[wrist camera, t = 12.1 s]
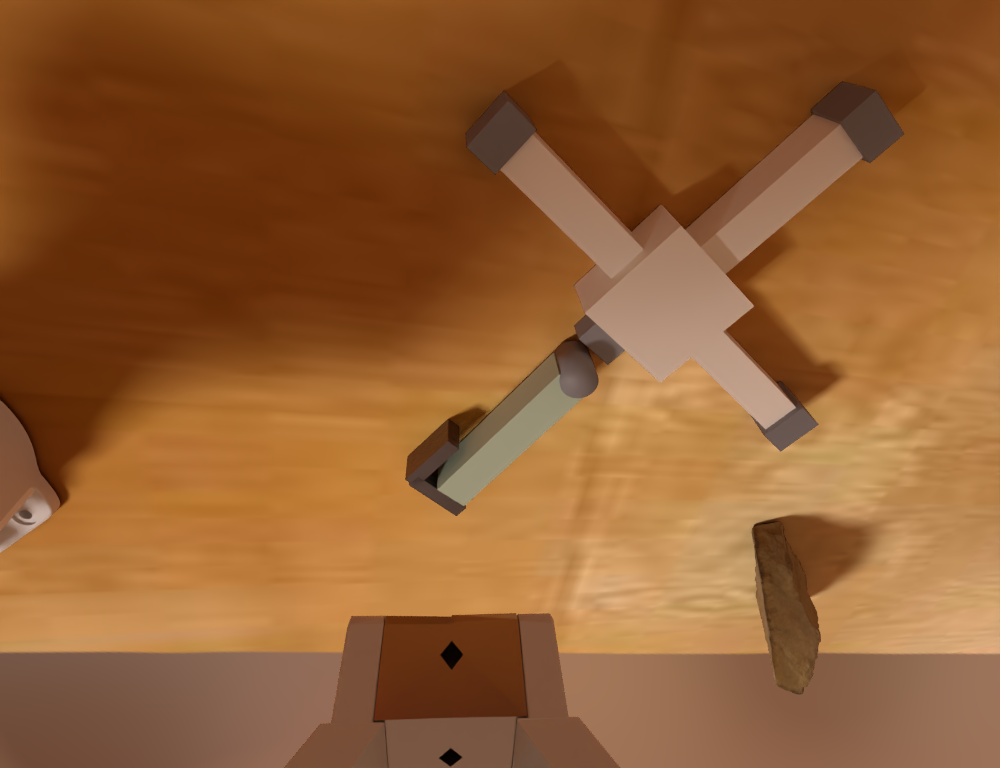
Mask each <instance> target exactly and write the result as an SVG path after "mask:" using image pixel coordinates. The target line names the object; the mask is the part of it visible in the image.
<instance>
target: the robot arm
mask: <svg viewBox="0 0 1000 768" xmlns="http://www.w3.org/2000/svg"><path fill="white" fill-rule="evenodd" d="M59 507H60V500H59V498H58V496H57V494H56V493H55V491H54V490H53V489H52V487H51V486H50V485H49V484H48V482H47V481H46V480H45V479H44V477H43V476H42V475H41V473H40V471H39V468H38V465H37V462H36V457H35V453H34V449H33V446H32V443H31V441H30V439H29V437H28V435H27V433H26V431H25V429H24V428H23V426H22V425H21V423H20V422H19V420H18V419H17V418H16V416H15V415H14V414H13V413H12V412H11V411H10V409H9V408H8V407H7V406H6V405H5V404H4V403H3V402H2V401H1V400H0V553H1V552H2V551H4V550H5V549H7V548H8V547H9V546H11V545H12V544H14V543H15V542H16V541H18V540H19V539H21V538H22V537H23V536H25V535H26V534H28V533H29V532H30V531H32V530H33V529H35V528H36V527H37V526H39V525H40V524H42V523H43V522H44V521H46V520H47V519H48V518H50V517H51V516H52V515H53V514H54V513H55V512H56V511H57V510H58V508H59ZM284 768H620V767H619V766H618V765H617V763H616V762H615V761H614V759H613V758H612V757H611V756H610V755H609V754H608V752H607V751H606V750H605V749H604V747H603V746H602V745H601V744H600V742H599V741H598V740H597V739H596V738H595V737H594V735H593V734H592V733H591V732H590V731H589V729H588V728H587V727H586V725H585V724H584V723H583V722H582V721H581V719H580V718H579V717H568V711H567V705H566V698H565V692H564V685H563V679H562V673H561V666H560V660H559V653H558V647H557V640H556V634H555V627H554V621H553V618H552V617H551V615H550V614H549V613H547V614H518V615H516V613H509V614H476V615H452V617H437V616H351V619H350V622H349V624H348V627H347V632H346V638H345V644H344V650H343V656H342V662H341V668H340V673H339V679H338V686H337V691H336V697H335V703H334V709H333V715H332V720H331V723H326V724H320V725H319V726H318V727H317V728H316V730H315V731H314V732H313V733H312V735H311V736H310V737H309V738H308V739H307V741H306V742H305V743H304V744H303V746H302V747H301V748H300V749H299V750H298V752H297V753H296V754H295V755H294V756H293V758H292V759H291V760H290V761H289V762H288V764H287V765H286V766H285V767H284Z"/></svg>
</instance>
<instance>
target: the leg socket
mask: <svg viewBox="0 0 1000 768" xmlns="http://www.w3.org/2000/svg"><path fill="white" fill-rule="evenodd" d="M458 450H459V426H457V425H456V424H455V423H453V422H452V421H450V420H449V419H448V420H447V421H446V422H444V423H443V424H442V425H441V426H440V427H439V428H438V429H437V430H436V431H435V432H434V433H432V434H431V435H430V436H429V437H428V438H427V439H426V440H425V441H424V442H423V443H422V444H421V445H419V446H418V447H417V448H416V449H415V450H414V451H413V452H412V453H411V454H410V455H409V456H408V458H407V468H406V478H405V480H406V481H408V482H409V485H410V486H411V487H413V488H414V489H416V490H417V491H419V492H420V493H422V494H423V495H425V496H426V497H428V498H429V499H431V500H433V501H434V502H436V503H437V504H439V505H440V506H442V507H443V508H445V509H446V510H448V511H449V512H451V513H452V514H454V515H455V516H457V515H458V514H460V513H461V512H462V511H463V510H464V509H465V508H466V505H465V506H463V505H461V504H460V503H458V502H456V501H455V500H453V499H451V498H450V497H448V496H447V495H445V494H443V493H442V492H440V491H438V490H437V481H438V468H439V467H440V466H441V465H442V464H443V463H444V462H445V461H446V460H448V459H449V458H450V457H451V456H452V455H453V454H454V453H455V452H457V451H458Z"/></svg>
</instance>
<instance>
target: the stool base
mask: <svg viewBox="0 0 1000 768" xmlns="http://www.w3.org/2000/svg"><path fill="white" fill-rule="evenodd" d="M811 112H812V113H813V115H812V116H811V117H809V118H808V119H807V120H806V121H805V122H804V123H803V124H802V125H801V126H799V127H798V128H797V129H796V130H795V131H794V132H793V133H792V134H791V135H789V136H788V137H787V138H786V139H785V140H784V141H783V142H782V143H781V144H780V145H778V146H777V147H776V148H775V149H774V150H773V151H772V152H771V153H770V154H768V155H767V156H766V157H765V158H764V159H763V160H762V161H761V162H760V163H758V164H757V165H756V166H755V167H754V168H753V169H752V170H751V171H750V172H748V173H747V174H746V175H745V176H744V177H743V178H742V179H741V180H740V181H738V182H737V183H736V184H735V185H734V186H733V187H732V188H731V189H730V190H728V191H727V192H726V193H725V194H724V195H723V196H722V197H721V198H720V199H719V200H717V201H716V202H715V203H714V204H713V205H712V206H711V207H710V208H709V209H707V210H706V211H705V212H704V213H703V214H702V215H701V216H700V217H699V218H697V219H696V220H695V221H694V222H693V223H692V224H691V225H690V226H689V227H687V228H686V229H684V228H683V227H682V226H681V225H680V224H679V223H678V222H677V221H676V219H675V218H674V217H673V216H672V215H671V214H670V213H669V212H668V211H667V210H666V209H665V208H664V206H663V205H662V204H661V205H660V206H658V207H657V208H656V209H655V210H654V211H653V212H652V213H651V214H650V215H649V216H648V217H647V218H646V219H645V220H643V221H642V222H641V223H640V224H639V225H638V226H637V227H636V228H635V229H634V230H633V231H632V232H631V231H630V230H629V229H628V228H627V227H626V226H625V225H624V224H623V223H622V222H621V221H620V220H619V218H618V217H617V216H616V215H615V214H614V213H613V212H612V211H611V210H610V209H609V208H608V207H607V206H606V205H605V204H604V203H603V202H602V201H601V200H600V199H599V198H598V197H597V196H596V195H595V193H594V192H593V191H592V190H591V189H590V188H589V187H588V186H587V185H586V184H585V183H584V182H583V181H582V180H581V179H580V178H579V177H578V176H577V175H576V174H575V173H574V172H573V171H572V170H571V168H570V167H569V166H568V165H567V164H566V163H565V162H564V161H563V160H562V159H561V158H560V157H559V156H558V155H557V154H556V153H555V152H554V151H553V150H552V149H551V148H550V147H549V146H548V145H547V143H546V142H545V141H544V140H543V139H542V138H541V137H540V136H539V135H538V134H537V133H536V128H535V126H534V124H533V123H532V121H531V119H530V117H529V116H528V115H527V114H526V113H525V112H524V111H523V110H522V109H521V108H520V107H519V106H518V105H517V104H516V103H515V102H514V101H513V100H512V99H511V98H510V96H509V95H508V94H507V93H506V92H505V91H503V92H502V93H501V94H500V95H499V96H498V98H497V99H496V100H495V101H494V102H493V103H492V104H491V106H490V107H489V108H488V109H487V110H486V111H485V112H484V113H483V115H482V116H481V117H480V118H479V119H478V120H477V121H476V122H475V124H474V125H473V126H472V127H471V128H470V129H469V130H468V132H467V133H466V147H467V148H468V149H469V150H470V151H471V152H472V153H473V154H474V155H475V156H476V157H477V158H478V159H479V160H480V161H481V162H482V163H483V164H484V165H485V166H486V167H487V168H489V169H490V170H491V171H492V172H493V173H494V174H495V175H496V173H497V172H498V171H499V170H501V171H502V172H503V173H504V174H505V175H506V176H507V177H508V178H509V179H510V180H511V181H512V182H513V183H514V184H515V185H516V186H517V187H518V188H519V189H520V190H521V191H522V192H523V193H524V194H525V195H526V196H527V197H528V198H529V199H530V200H531V201H532V202H533V203H534V204H535V205H536V206H537V207H538V208H540V209H541V210H542V211H543V212H544V213H545V214H546V215H547V216H548V217H549V218H550V219H551V220H552V221H553V222H554V223H555V224H556V225H557V226H558V227H559V228H560V229H561V230H562V231H563V232H564V233H565V234H566V235H567V236H568V237H569V238H570V239H571V240H572V241H573V242H574V243H575V244H576V245H577V246H578V247H579V248H580V249H581V250H583V251H584V252H585V253H586V254H587V255H588V256H589V257H590V258H591V259H592V260H593V261H594V262H595V263H596V265H595V266H594V267H593V268H592V269H591V270H590V271H589V272H588V273H587V274H586V275H585V276H583V277H582V278H581V279H580V280H579V281H578V282H577V283H576V284H575V285H574V287H575V289H576V292H577V295H578V297H579V300H580V302H581V305H582V307H583V310H584V313H585V314H586V316H585V317H583V318H582V319H581V320H580V321H579V322H578V323H577V324H576V325H575V326H574V327H575V330H576V332H577V335H578V338H579V340H581V341H582V342H583V343H584V344H585V345H586V346H587V347H588V348H590V349H591V350H592V351H593V352H594V353H595V354H596V355H597V356H599V357H600V358H601V359H602V360H603V361H604V362H605V363H606V364H607V365H608V364H609V363H611V362H612V361H613V360H614V359H615V358H616V357H618V356H619V355H620V354H621V353H622V352H623V351H626V352H627V353H629V354H630V355H631V356H632V357H633V358H634V359H635V360H636V361H637V362H638V363H639V364H641V365H642V366H643V367H644V368H645V369H646V370H647V371H648V372H649V373H650V374H651V375H652V376H654V377H655V378H656V379H657V380H658V381H659V382H660V383H661V382H662V381H663V380H664V379H665V378H667V377H668V376H669V375H670V374H672V373H673V372H674V371H675V370H677V369H678V368H679V367H680V366H681V365H683V364H684V363H685V362H686V361H688V360H689V359H690V358H691V357H692V358H693V359H694V360H695V361H696V362H697V363H698V364H699V365H700V366H701V367H702V368H703V369H704V370H705V371H706V372H707V373H708V374H709V375H710V376H711V377H712V378H714V379H715V380H716V381H717V382H718V383H719V384H720V385H721V386H722V387H723V388H724V389H725V390H726V391H727V392H728V393H729V394H730V395H731V396H732V397H733V398H734V399H735V400H736V401H737V402H738V403H739V404H740V405H741V406H742V407H743V408H744V409H745V410H746V411H747V412H748V413H749V414H750V415H751V417H752V418H753V420H754V421H755V423H756V424H757V426H758V427H759V429H760V430H761V431H762V433H763V434H764V436H765V437H766V438H767V439H768V440H769V441H770V442H771V443H772V444H773V445H774V446H776V447H777V448H778V449H779V450H780V451H782V450H783V449H785V448H786V447H788V446H789V445H791V444H792V443H793V442H795V441H796V440H798V439H799V438H800V437H802V436H803V435H805V434H806V433H807V432H809V431H810V430H812V429H813V428H815V427H816V426H817V425H819V424H818V423H817V422H816V421H815V420H814V418H813V417H812V416H811V415H810V413H809V412H808V411H807V410H806V409H805V407H804V406H803V405H802V404H801V402H800V401H799V400H798V399H797V398H796V396H795V395H794V394H793V393H792V392H791V391H790V390H789V389H788V388H787V387H786V386H785V385H784V384H783V383H782V382H781V381H780V382H778V383H776V382H775V381H774V380H773V379H772V378H771V377H770V376H769V375H768V374H767V373H766V372H765V371H764V369H763V368H762V367H761V366H760V365H759V364H758V363H757V362H756V361H755V360H754V359H753V358H752V357H751V356H750V355H749V354H748V353H747V352H746V351H745V350H744V349H743V348H742V347H741V346H740V344H739V343H738V342H737V341H736V340H735V339H734V338H733V337H732V336H731V335H730V334H729V333H728V332H727V331H726V329H727V328H728V327H729V326H731V325H732V324H733V323H734V322H736V321H737V320H738V319H739V318H740V317H742V316H743V315H744V314H745V313H747V312H748V311H749V310H750V309H752V308H753V307H754V305H753V304H752V303H751V302H750V301H749V300H748V299H747V298H746V296H745V295H744V294H743V293H742V292H741V291H740V290H739V289H738V288H737V287H736V285H735V284H734V283H733V282H732V281H731V280H730V279H729V278H728V277H727V276H726V273H727V272H729V271H730V270H731V269H732V268H733V267H735V266H736V265H737V264H738V263H739V262H740V261H742V260H743V259H744V258H745V257H746V256H748V255H749V254H750V253H751V252H752V251H753V250H755V249H756V248H757V247H758V246H759V245H760V244H762V243H763V242H764V241H765V240H766V239H768V238H769V237H770V236H771V235H772V234H773V233H775V232H776V231H777V230H778V229H779V228H780V227H782V226H783V225H784V224H785V223H786V222H788V221H789V220H790V219H791V218H792V217H793V216H795V215H796V214H797V213H798V212H799V211H801V210H802V209H803V208H804V207H805V206H806V205H808V204H809V203H810V202H811V201H812V200H813V199H815V198H816V197H817V196H818V195H819V194H821V193H822V192H823V191H824V190H825V189H826V188H828V187H829V186H830V185H831V184H832V183H833V182H835V181H836V180H837V179H838V178H839V177H841V176H842V175H843V174H844V173H845V172H846V171H848V170H849V169H850V168H851V167H852V166H854V165H855V164H856V163H857V162H858V161H859V160H861V159H862V160H864V161H867V162H869V163H871V162H872V161H873V160H874V159H875V158H877V157H878V156H879V155H880V154H881V153H883V152H884V151H885V150H886V149H887V148H889V147H890V146H891V145H892V144H893V143H894V142H896V141H897V140H898V139H899V138H900V137H902V136H903V135H904V132H903V131H902V129H901V128H900V126H899V125H898V123H897V122H896V120H895V118H894V117H893V115H892V114H891V112H890V111H889V109H888V108H887V106H886V105H885V103H884V101H883V100H882V98H881V97H880V95H879V94H878V92H877V91H876V90H873V89H869V88H865V87H861V86H857V85H854V84H850V83H846V82H841V83H840V84H839V85H838V86H836V87H835V88H834V89H833V90H832V91H831V92H830V93H829V94H828V95H827V96H825V97H824V98H823V99H822V100H821V101H820V102H819V103H818V104H817V105H815V106H814V107H813V108H812V109H811Z"/></svg>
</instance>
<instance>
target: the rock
mask: <svg viewBox="0 0 1000 768" xmlns="http://www.w3.org/2000/svg"><path fill="white" fill-rule="evenodd" d="M752 537H753V542H754V548H755V559H756V567H755V572H756V578H755V581H756V586H757V591H756V598H757V602H758V606H759V611H760V615H761V619H762V623H763V628H764V632H765V638H766V641H767V644H768V650H769V653H770V658H771V665H772V670H773V675H774V681H775V684H776V685H777V686H779V687H781V688H783V689H785V690H787V691H790V692H792V693H795V694H802V693H803V691H804V687H807V685H808V684H809V682H810V680H811V678H812V676H813V670H814V664H815V660H816V659H817V652H818V645H819V642H821V636H820V631H819V629H818V628H819V624H818V616H817V611H816V609H815V607H814V605H813V603H812V601H811V599H810V596H809V595H808V593H807V587H806V576H805V574H804V572H803V570H802V568H801V564H800V561H798V559H797V557H796V556H795V555H794V554H793V553H792V551H791V547H790V546H789V544H788V543H787V542H786V538H785V536H784V527H783V526H782V524H781V523H780V522H774V523H769V524H760V525H757V526H754V527H753V528H752Z"/></svg>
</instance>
